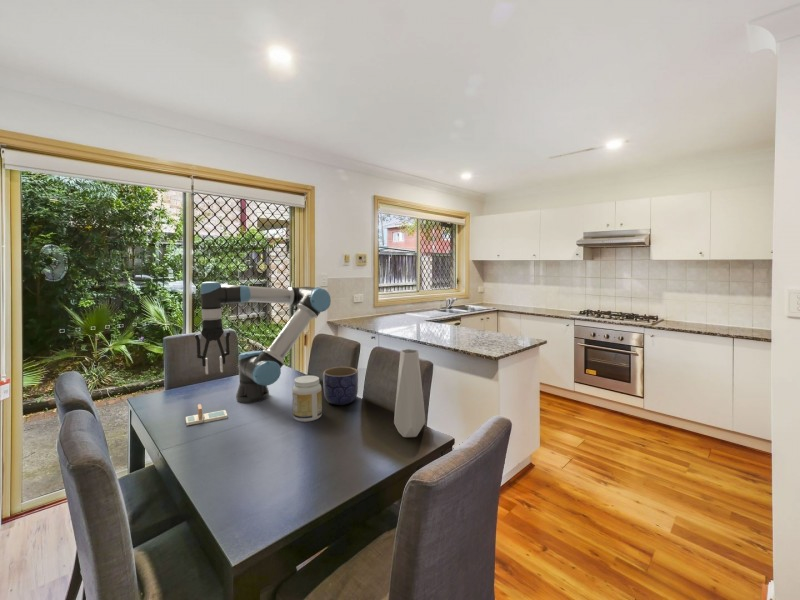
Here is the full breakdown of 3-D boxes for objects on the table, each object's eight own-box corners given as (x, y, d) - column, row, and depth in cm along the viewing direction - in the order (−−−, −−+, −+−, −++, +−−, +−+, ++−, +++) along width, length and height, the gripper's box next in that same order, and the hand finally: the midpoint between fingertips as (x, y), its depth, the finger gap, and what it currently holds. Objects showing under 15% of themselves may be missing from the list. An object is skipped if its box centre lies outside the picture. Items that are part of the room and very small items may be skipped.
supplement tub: (312, 409, 171) (311, 372, 169) (327, 416, 162) (326, 378, 161) (287, 416, 162) (286, 378, 161) (302, 425, 154) (301, 385, 152)
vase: (388, 429, 150) (388, 349, 147) (414, 425, 154) (415, 346, 151) (400, 443, 139) (400, 356, 136) (428, 437, 143) (429, 353, 140)
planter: (365, 399, 183) (365, 369, 182) (342, 410, 170) (342, 378, 168) (339, 393, 192) (339, 364, 191) (316, 403, 178) (315, 372, 177)
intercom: (201, 416, 162) (201, 403, 161) (203, 422, 156) (202, 408, 155) (185, 419, 159) (185, 406, 158) (186, 425, 153) (185, 411, 152)
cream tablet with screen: (225, 412, 167) (225, 409, 167) (227, 418, 161) (227, 415, 161) (202, 416, 162) (202, 413, 162) (203, 422, 156) (203, 419, 156)
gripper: (233, 316, 165) (235, 367, 168) (187, 318, 156) (189, 373, 158) (236, 318, 159) (238, 371, 161) (187, 321, 150) (190, 378, 152)
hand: (214, 372), depth 160 cm, fingers open, 5 cm apart
